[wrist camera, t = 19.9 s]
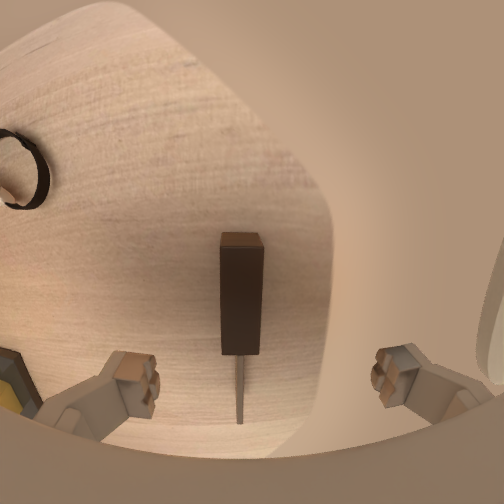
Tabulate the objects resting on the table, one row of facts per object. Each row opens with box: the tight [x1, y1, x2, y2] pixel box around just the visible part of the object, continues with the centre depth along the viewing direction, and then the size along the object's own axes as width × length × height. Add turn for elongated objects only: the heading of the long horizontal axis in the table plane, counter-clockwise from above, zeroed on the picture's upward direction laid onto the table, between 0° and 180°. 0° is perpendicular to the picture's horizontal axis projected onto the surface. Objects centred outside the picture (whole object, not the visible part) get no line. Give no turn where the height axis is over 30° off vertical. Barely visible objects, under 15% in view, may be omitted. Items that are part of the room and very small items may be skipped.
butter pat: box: [0, 380, 23, 415], centre depth 16 cm, size 2×4×3 cm, turn 177°
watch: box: [0, 129, 50, 210], centre depth 12 cm, size 8×5×4 cm, turn 57°
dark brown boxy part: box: [220, 232, 264, 424], centre depth 16 cm, size 2×12×3 cm, turn 179°
